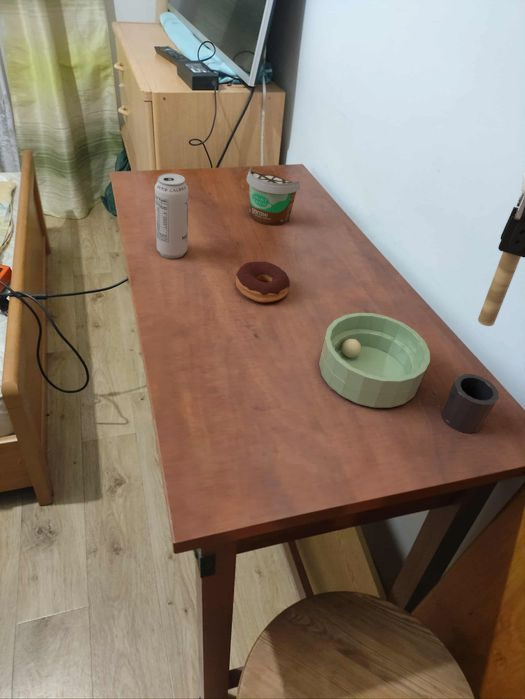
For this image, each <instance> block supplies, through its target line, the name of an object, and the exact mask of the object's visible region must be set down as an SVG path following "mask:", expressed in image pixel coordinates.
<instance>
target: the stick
mask: <svg viewBox="0 0 525 699" xmlns="http://www.w3.org/2000/svg"><path fill="white" fill-rule="evenodd" d="M521 258H522V257H520V256H517V255H513V254H510V253H506V252H503V251H502V253H501V256H500V259H499V260H498V264H497V266H496V270H495V272H494V275H493V277H492V280H491V282H490V286H489V288H488V291H487V294H486V297H485V299H484V300H483V301H484V302H483V304H482V307H481V310H480V311H479V315H478V318H477V321H478V323H479V324H481V325H482V326H485V327H492V326H494V325H495V322H496V320H497V318H498V316H499V313H500V310H501V308H502V305H503V303H504V300H505V298H506V296H507V293H508V291H509V288H510V285H511V283H512V280H513V277H514V275H515V272H516V271H517V268H518V265H519V262H520V260H521Z"/></svg>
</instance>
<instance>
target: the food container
mask: <svg viewBox="0 0 525 699" xmlns="http://www.w3.org/2000/svg"><path fill="white" fill-rule="evenodd" d="M246 182H247V184H248V185H249V216H250V218H251V219H252V220H253V221H254V222H256V223H259V224H261V225H266V226H280V225H284V224H286V223H287V222H289V221H290V217H291V213H292V210H293V206H294V202H295V198H296V195H297V192H298V191H299V190H301V182H300V179H297V180H295V181H290V180H288V179H284V178H282V177H281V176H277V175H274V174H264V173H260V172H255V171H253V166H251V167H250V168H249V170H248V172H247V175H246Z"/></svg>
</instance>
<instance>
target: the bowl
mask: <svg viewBox="0 0 525 699" xmlns="http://www.w3.org/2000/svg"><path fill="white" fill-rule="evenodd" d="M348 339H355V340H357V341H358V342H359V343H360V345H361V351H360V353H359V355H357V356H356V357H353V358H350V357H347V356H345V355H344V353H343V351H342V345H343V343H344V342H345V341H346V340H348ZM430 363H431V351H430V348H429V347H428V344H427V342H426V341H425V340H424V339H423V337H422V336H421V335H420V334H419V333H418V332H417V331H416V330H415V329H413V328H412V327H411V326H408V325H407V324H405V323H404V322H402V321H399V320H397V319H396V318H392V317H390V316H388V315H384V314H383V315H382V314H378V313H374V312H355V313H349V314H344V315H342V316H340V317H338V318H336V319H334V320H333V321H332V322H331V324H330V325H329V326H327V328H326V333H325V336H324V341H323V345H322V349H321V353H320V357H319V362H318V367H319V370H320V374H321V376H322V378H323V379H324V381H325V382H326V384H327V385H328V387H330V388H331V389H332V390H333V391H335V392H336V393H337V394H338V395H339V396H341V397H342V398H345V399H347V400H348V401H351V402H353V403H355V404H357V405H362V406H365V407H369V408H388V409H389V408H394V407H398V406H401V405H405V404H406V403H407V402H409V401H410V400H411V399H413V398H414V397H415V396H416V394H417V392H418V390H419V389H420V386H421V384H422V382H423V379H424V377H425V375H426V373H427V370H428V368H429V366H430Z"/></svg>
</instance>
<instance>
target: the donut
mask: <svg viewBox="0 0 525 699" xmlns="http://www.w3.org/2000/svg"><path fill="white" fill-rule="evenodd" d="M235 276H236V277H235V278H236V279H235V285H236V288H237V289H238V290H239V292H240V293H241V294H242V295H243V296H245V297H246V298H247V299H250V300H252V301H254V302H257V303H262V304H263V303H272V302H277V301H279V300H281V299H283V298H284V297H285V296H287V294H288V293H289V289H290V286H291V281H290V277H289V275H288V274H287V272H286V271H285V270H284V269H282V268H281V267H280V266H278V265H275V264H274V263H271V262H268V261H263V260H262V261H261V260H260V261H249V262H246V263H244V264H243V265H241V266H240V267H239V269H238V270H237V272H236V274H235Z"/></svg>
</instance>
